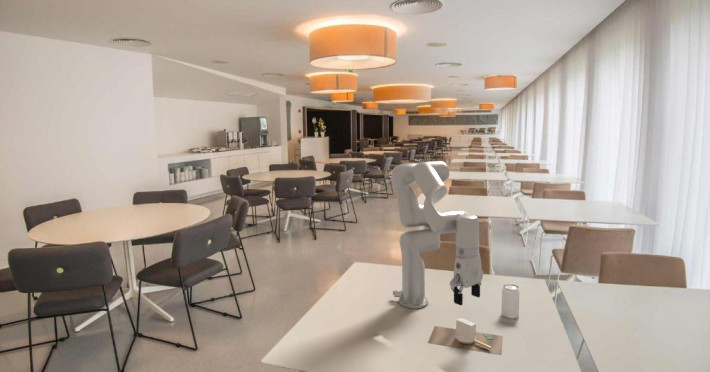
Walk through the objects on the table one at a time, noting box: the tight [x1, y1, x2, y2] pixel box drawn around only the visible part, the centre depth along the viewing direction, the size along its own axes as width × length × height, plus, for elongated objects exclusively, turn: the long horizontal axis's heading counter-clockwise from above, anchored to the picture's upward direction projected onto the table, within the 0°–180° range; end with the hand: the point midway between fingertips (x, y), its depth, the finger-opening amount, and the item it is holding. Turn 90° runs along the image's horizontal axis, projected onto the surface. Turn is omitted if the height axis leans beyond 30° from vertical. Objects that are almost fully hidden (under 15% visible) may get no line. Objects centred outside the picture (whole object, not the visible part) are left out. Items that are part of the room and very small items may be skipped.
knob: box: [455, 317, 492, 349], centre depth 144 cm, size 14×7×6 cm, turn 39°
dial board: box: [427, 325, 504, 356], centre depth 147 cm, size 24×13×2 cm, turn 69°
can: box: [501, 283, 520, 320], centre depth 167 cm, size 6×6×12 cm
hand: (467, 300), depth 145 cm, fingers open, 9 cm apart
